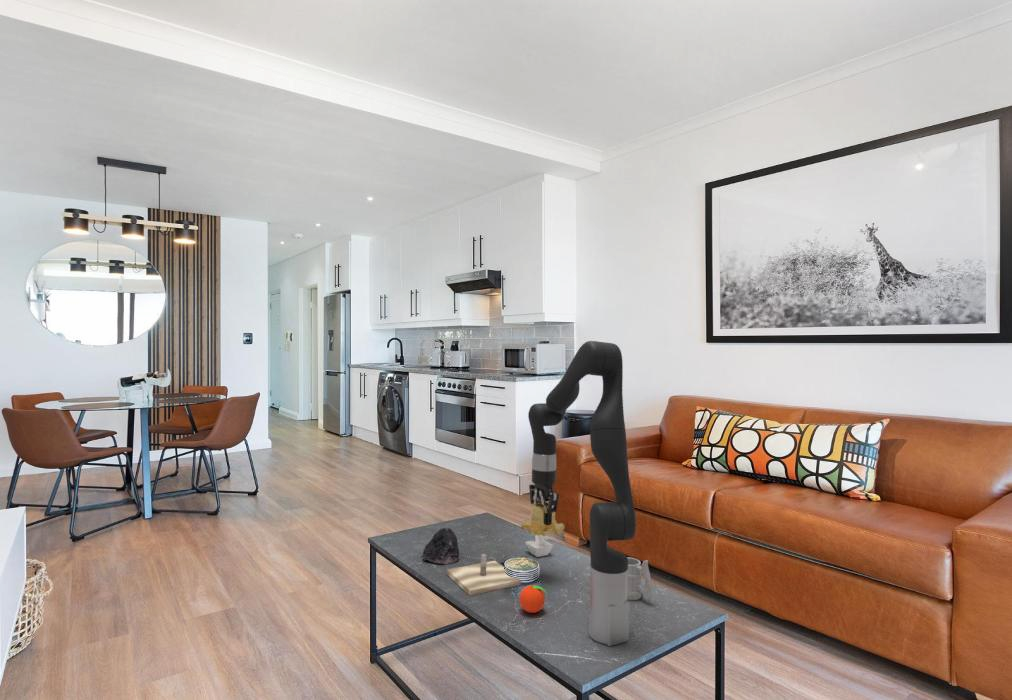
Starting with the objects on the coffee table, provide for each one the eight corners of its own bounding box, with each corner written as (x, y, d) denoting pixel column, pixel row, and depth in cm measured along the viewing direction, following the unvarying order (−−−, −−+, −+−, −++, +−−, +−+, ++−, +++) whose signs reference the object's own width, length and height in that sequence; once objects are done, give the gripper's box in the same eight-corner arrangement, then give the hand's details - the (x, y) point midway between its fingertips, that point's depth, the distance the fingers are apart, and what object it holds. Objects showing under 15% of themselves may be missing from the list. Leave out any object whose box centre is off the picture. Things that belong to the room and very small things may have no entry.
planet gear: (569, 532, 175) (569, 507, 175) (536, 537, 169) (536, 512, 169) (548, 521, 185) (549, 498, 185) (517, 525, 180) (517, 502, 180)
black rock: (434, 571, 183) (438, 540, 183) (412, 554, 193) (416, 526, 193) (467, 564, 192) (471, 535, 191) (445, 549, 202) (449, 521, 202)
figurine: (537, 560, 192) (538, 515, 192) (522, 551, 200) (524, 508, 200) (555, 556, 195) (556, 513, 195) (540, 548, 204) (541, 506, 204)
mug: (627, 587, 172) (628, 547, 172) (659, 601, 163) (660, 559, 163) (610, 593, 168) (611, 552, 168) (641, 608, 158) (642, 565, 158)
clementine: (549, 607, 158) (550, 581, 157) (547, 619, 151) (547, 592, 151) (521, 604, 159) (521, 579, 159) (517, 616, 152) (518, 589, 152)
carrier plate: (520, 584, 172) (521, 558, 172) (469, 595, 164) (470, 568, 164) (494, 565, 187) (495, 541, 187) (446, 574, 179) (447, 548, 179)
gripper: (567, 471, 172) (565, 527, 173) (542, 462, 185) (541, 514, 185) (545, 473, 169) (544, 530, 169) (522, 463, 182) (520, 517, 182)
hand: (542, 521), depth 177 cm, fingers closed on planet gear, 5 cm apart
